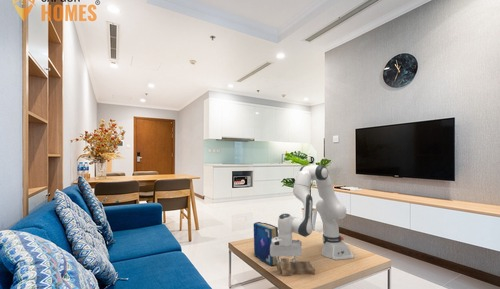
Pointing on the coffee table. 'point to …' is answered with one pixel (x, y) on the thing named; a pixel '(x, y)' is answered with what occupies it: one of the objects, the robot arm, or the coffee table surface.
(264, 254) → the book
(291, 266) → the board
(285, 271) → the block
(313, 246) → the coffee table surface
